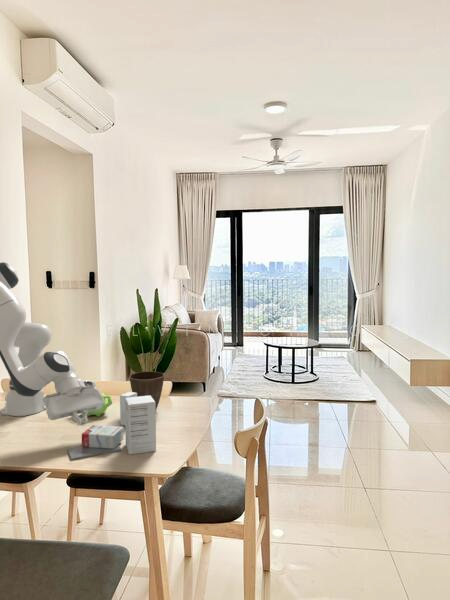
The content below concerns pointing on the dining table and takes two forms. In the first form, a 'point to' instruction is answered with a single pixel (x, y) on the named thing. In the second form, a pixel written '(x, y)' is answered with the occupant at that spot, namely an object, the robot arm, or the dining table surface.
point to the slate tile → (89, 451)
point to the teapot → (103, 409)
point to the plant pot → (147, 384)
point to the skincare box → (122, 405)
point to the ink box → (102, 436)
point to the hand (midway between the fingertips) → (83, 423)
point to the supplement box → (140, 424)
